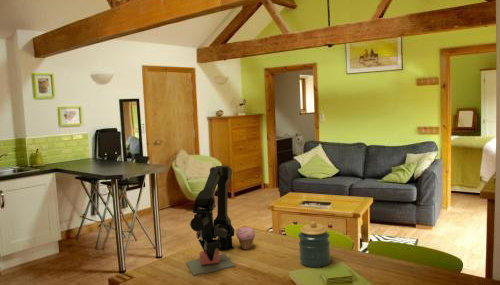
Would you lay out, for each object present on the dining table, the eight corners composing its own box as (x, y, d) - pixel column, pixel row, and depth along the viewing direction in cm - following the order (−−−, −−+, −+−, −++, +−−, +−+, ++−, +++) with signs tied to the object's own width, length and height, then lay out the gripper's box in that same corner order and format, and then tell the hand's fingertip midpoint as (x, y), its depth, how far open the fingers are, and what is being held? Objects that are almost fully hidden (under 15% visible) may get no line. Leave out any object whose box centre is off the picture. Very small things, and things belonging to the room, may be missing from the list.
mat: (225, 255, 187) (225, 253, 187) (234, 266, 174) (234, 265, 174) (186, 263, 181) (186, 261, 180) (193, 275, 168) (193, 274, 167)
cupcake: (234, 246, 197) (233, 226, 196) (250, 242, 200) (249, 223, 199) (242, 252, 189) (240, 231, 188) (258, 248, 192) (257, 228, 191)
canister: (330, 268, 166) (328, 226, 164) (298, 267, 169) (296, 226, 167) (330, 255, 179) (329, 216, 177) (301, 255, 181) (299, 216, 179)
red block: (200, 260, 179) (199, 251, 178) (218, 257, 180) (217, 249, 180) (201, 264, 174) (200, 255, 173) (219, 262, 175) (219, 253, 175)
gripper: (231, 226, 169) (234, 262, 171) (218, 214, 186) (221, 247, 188) (205, 231, 165) (208, 268, 167) (194, 219, 183) (197, 252, 184)
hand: (209, 258), depth 177 cm, fingers closed on red block, 5 cm apart
